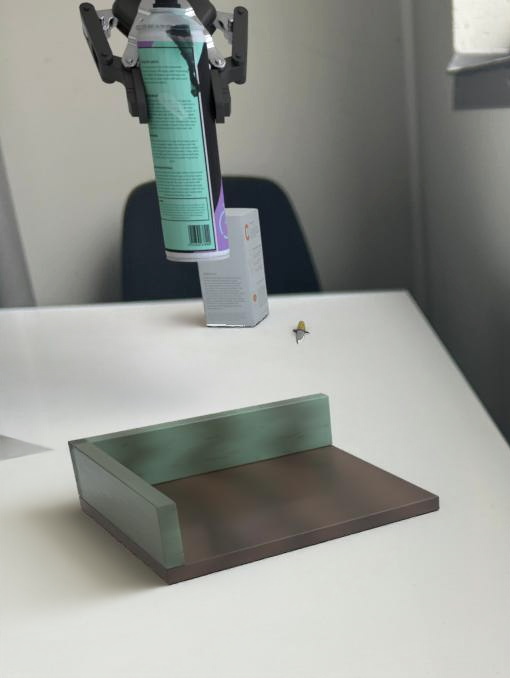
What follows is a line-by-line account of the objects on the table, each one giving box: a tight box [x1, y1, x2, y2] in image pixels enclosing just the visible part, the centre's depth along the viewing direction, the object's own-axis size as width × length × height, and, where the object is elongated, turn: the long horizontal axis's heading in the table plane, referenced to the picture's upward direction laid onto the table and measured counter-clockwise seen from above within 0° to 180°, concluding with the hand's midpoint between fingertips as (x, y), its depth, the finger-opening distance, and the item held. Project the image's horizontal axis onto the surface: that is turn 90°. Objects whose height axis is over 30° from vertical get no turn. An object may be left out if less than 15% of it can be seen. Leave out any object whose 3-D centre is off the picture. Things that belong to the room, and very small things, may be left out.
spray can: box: [136, 0, 230, 263], centre depth 85 cm, size 6×6×20 cm
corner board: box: [67, 392, 440, 585], centre depth 71 cm, size 20×16×5 cm
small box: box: [196, 207, 270, 327], centre depth 128 cm, size 8×6×13 cm
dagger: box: [292, 320, 310, 341], centre depth 123 cm, size 11×1×2 cm
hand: (182, 115), depth 83 cm, fingers closed on spray can, 5 cm apart
